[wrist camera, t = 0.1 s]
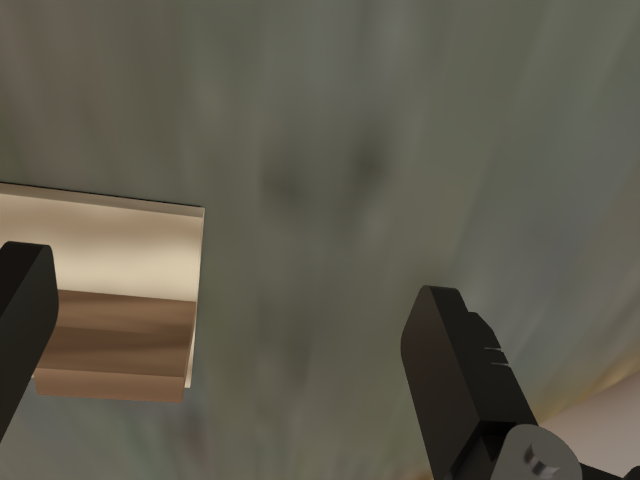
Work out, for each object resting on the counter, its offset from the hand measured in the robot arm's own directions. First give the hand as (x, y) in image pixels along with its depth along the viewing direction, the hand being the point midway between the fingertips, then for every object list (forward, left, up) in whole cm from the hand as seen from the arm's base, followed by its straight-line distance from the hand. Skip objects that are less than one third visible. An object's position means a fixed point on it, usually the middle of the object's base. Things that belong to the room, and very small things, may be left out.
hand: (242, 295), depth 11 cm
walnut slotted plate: (+18, -12, -16) cm, 27 cm away
